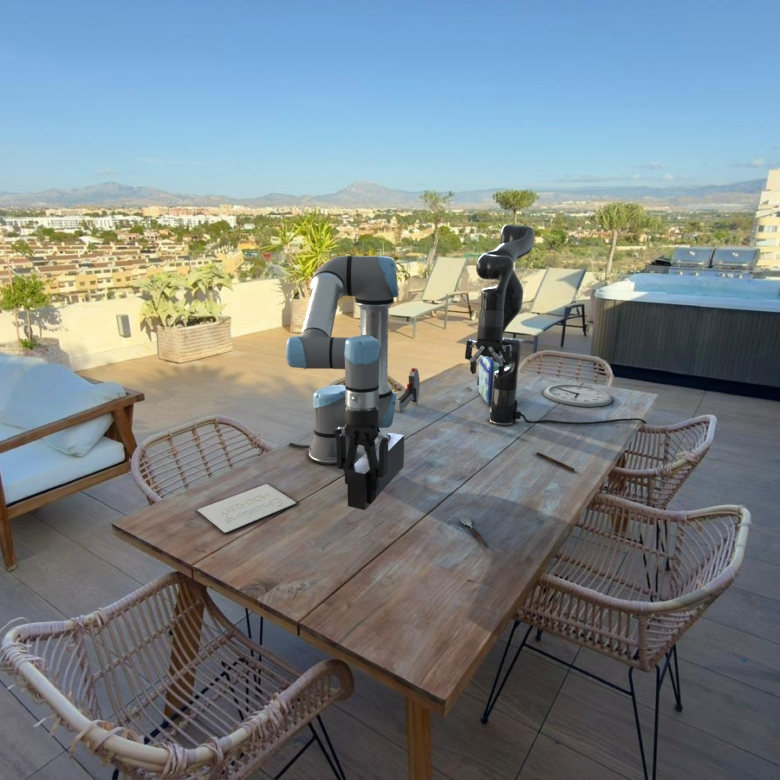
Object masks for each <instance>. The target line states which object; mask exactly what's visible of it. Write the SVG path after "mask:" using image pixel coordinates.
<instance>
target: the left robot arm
mask: <svg viewBox="0 0 780 780" xmlns="http://www.w3.org/2000/svg"><path fill="white" fill-rule="evenodd" d="M309 287H310V288H309V289H310V290H309V291H310V293H311V294H310V297H309V301H308V304H307V309H306V313H305V316H304V319H303V323H302V326H301V330H300V334H299V335H295V336H290V337H288V339H287V341H286V344H285V345H286V347H285V354H286V355H285V356H286V357H285V358H286V363H287V364H288V366H289V367H291V368H296V369H304V370H307V369H308V370H309V369H311V370H312V369H313V370H314V369H315V370H318V369H319V370H320V369H322V370H330V369H331V370H344V378H345V380H344V381H345V382H344V383H345V384H344V385H342V384H334V385H327V386H324V387H321V388H319V389H317V390H316V391H315V392H314V393H313V396H312V419H313V422H312V423H313V435H312V439H311V442H310V444H309V445H308V444H296V443H293V442H289V443H288V445H289V446H290V447H294V448H299V449H308V458H309V460H311V462H314V463H317V464H319V465H328V466H330V465H331V466H333V465H334V466H335V465H336V468H337V469H338V470H342V471H343V472H344V484H345V485H347V470H348V469H349V468H350V467H351V466H353V465H354V464H355V462H356V461H355V460H356V456H357V452H358V447H359V446H361V447H363V449H364V451H365V454H367V459H368V463H369V468H370V472H371V476H370V477H369V478H368V503H369V504H370V505H372V504H373V502H375V500H376V499H377V497H376V490H377V489H378V488H379V477H381V478H382V477H383V476H384V475H385V474H386V473H387V469H388V443H389V441H390V439H391V436H390V435H387V434H385V433H383V432H381V430H380V429H387V428H390V427H391V426H392V425H393V422H394V417H395V412H396V411H395V403H396V400H397V393H396V392H395V391H393V386H392V385H390V384H389V382H388V374H389V373H388V371H389V370H388V369H389V368H388V367H389V366H388V365H389V364H388V363H389V362H388V361H389V308H391V306H392V305H394V300H395V298H397V297H399V284H398V275H397V266H396V262H395V259H394V258H393V257H390V256H383V255H339V256H335V257H334V258H331V259H330V260H327V261H326V262H324V263H323V264H322V265H321V266H320V267H319V268H317V270H316V271H315V272H314V274H313V275H312V278H311V281H310V286H309ZM342 297H354V303H355V304H356V305H357V307H359V335H357V336H351V337H343V336H342V337H340V336H339V337H338V336H337V337H334V336H332V334H333V329H334V326H335V325H334V324H335V319H336V314H337V309H338V304H339V301H340V300H341V299H342ZM376 439H378V442H379V444H380V446H379V464H378V459H377V455H376V450H375V445H376V441H375V440H376Z"/></svg>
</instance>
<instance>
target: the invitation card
mask: <svg viewBox="0 0 780 780" xmlns="http://www.w3.org/2000/svg"><path fill="white" fill-rule="evenodd" d="M296 504H297V501H295V500H294V499H291V498H290V497H289V496H287V495H285V494H283V493H282V492H280V491H279V490H277V489H276V488H274V487H273V486H271V485H269V484H267V483H265V484H263V485H260V486H257V487H254V488H251V489H249V490H245V491H244V492H241V493H238V494H235V495H232V496H230V497H227V498H224V499H222V500H219V501H216V502H214V503H211V504H209V505H206V506H203V507H201V508H198V509H197V510H196V511H197V512H198V513H200V514H201V515H202V516H203V517H205V519H207V520H209V522H211V523H212V524H213V525H215V526H216V527H217V528H218V529H219V530H221V532H223V533H224V534H227V533H229V532H231V531H234V530H236V529H239V528H241V527H243V526H246V525H248V524H251V523H253V522H256V521H258V520H260V519H263V518H265V517H267V516H270V515H272V514H275V513H277V512H279V511H281V510H284V509H287V508H289V507H291V506H294V505H296Z"/></svg>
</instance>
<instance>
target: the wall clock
mask: <svg viewBox="0 0 780 780" xmlns="http://www.w3.org/2000/svg"><path fill="white" fill-rule="evenodd" d="M543 396H544V397H546V398H547V399H549V400H551V401H554V402H555V403H560V404H563V405H569V406H574V407H585V408H586V407H588V408H594V407H595V408H596V407H604V406H609V405H610V404H611V403H612V402H613V398H612V396H611V395H610V394H608V393H607V392H605V391H604V390H601V389H598V388H594V387H590V386H586V385H579V384H556V385H551V386H549V387H546V388H545V389H544V390H543Z"/></svg>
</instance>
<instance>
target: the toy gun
mask: <svg viewBox="0 0 780 780" xmlns="http://www.w3.org/2000/svg"><path fill="white" fill-rule="evenodd" d="M420 380H421V379H420V373H419V370H418V368H416V367H412V368H411V369H410V371H409V375H408V383H406V389H405V391H404V393H403V394H402V395H400V396H399V398H398V399H397V398H396V403H395V411H394V412H400V413H401V412H402V411H403V410H404V409H406V408H407V407H408V405H409V404H410V403H411V402H412V404H415V405H418V403H419V397H420V389H421V388H420V384H421V383H420V382H421V381H420Z"/></svg>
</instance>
